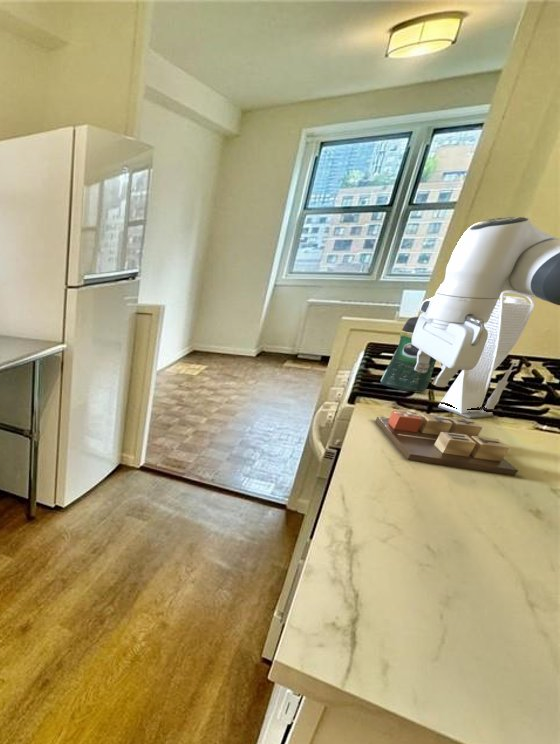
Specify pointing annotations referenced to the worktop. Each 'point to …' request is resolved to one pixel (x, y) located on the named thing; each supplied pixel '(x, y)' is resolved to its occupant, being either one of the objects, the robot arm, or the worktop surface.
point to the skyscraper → (490, 358)
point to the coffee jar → (407, 364)
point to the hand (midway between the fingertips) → (428, 378)
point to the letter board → (438, 451)
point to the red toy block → (405, 421)
